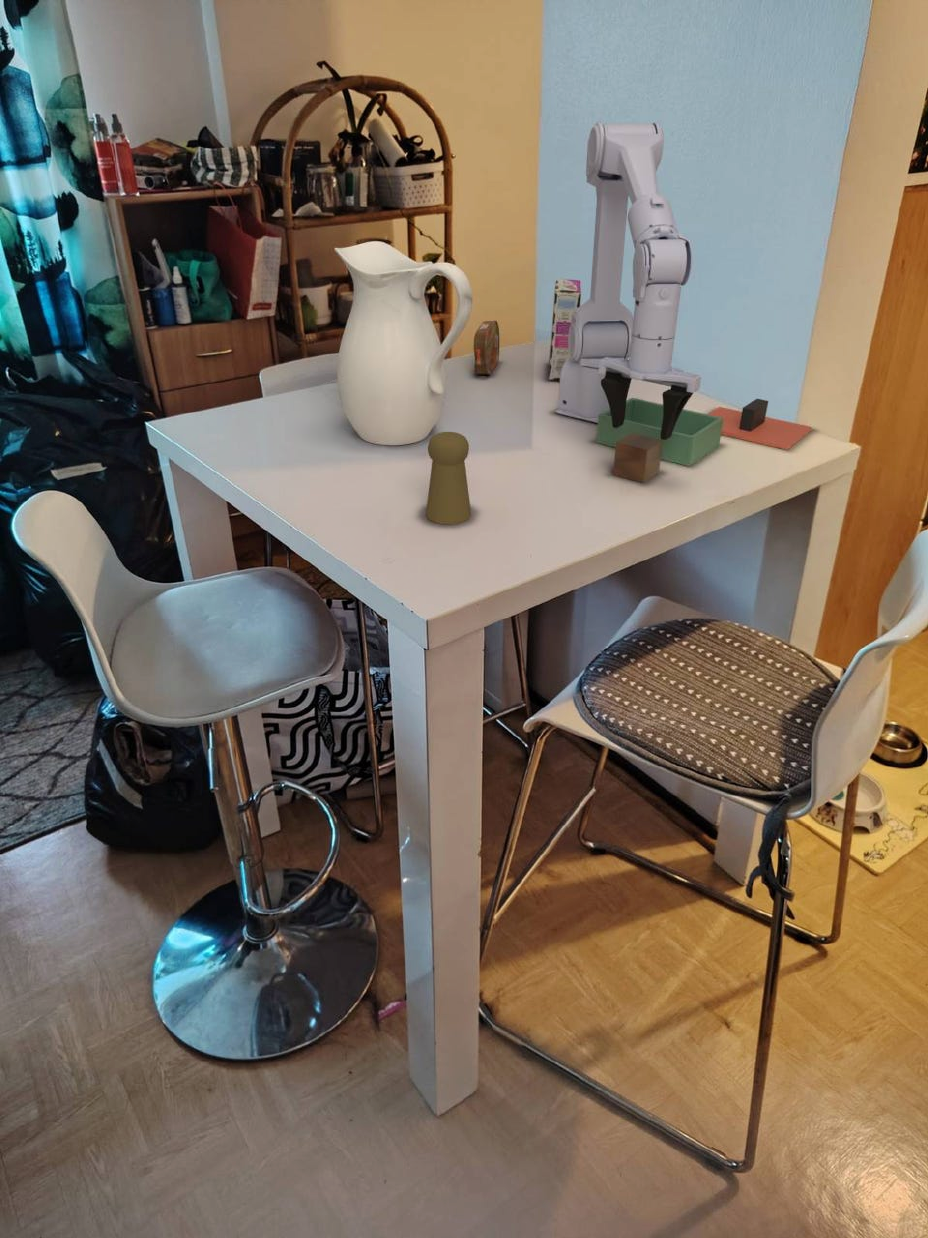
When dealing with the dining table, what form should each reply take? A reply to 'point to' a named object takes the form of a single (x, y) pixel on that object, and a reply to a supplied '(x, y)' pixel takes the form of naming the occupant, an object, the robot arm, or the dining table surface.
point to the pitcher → (394, 344)
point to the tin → (486, 347)
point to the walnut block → (637, 457)
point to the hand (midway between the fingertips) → (641, 431)
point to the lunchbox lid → (760, 426)
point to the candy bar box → (562, 323)
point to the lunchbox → (645, 418)
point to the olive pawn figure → (448, 479)
